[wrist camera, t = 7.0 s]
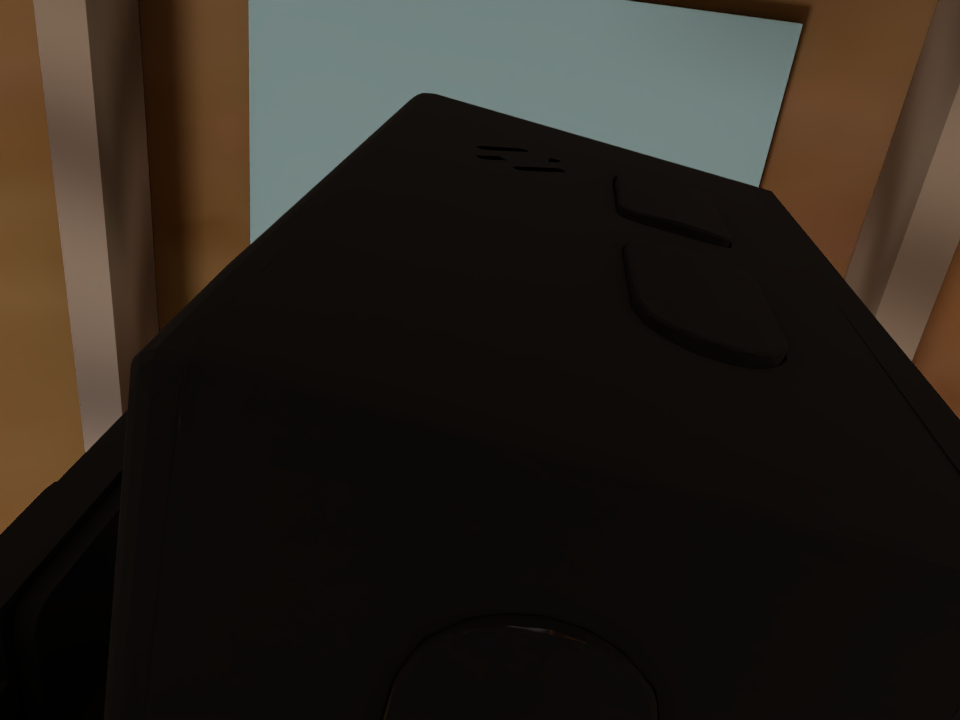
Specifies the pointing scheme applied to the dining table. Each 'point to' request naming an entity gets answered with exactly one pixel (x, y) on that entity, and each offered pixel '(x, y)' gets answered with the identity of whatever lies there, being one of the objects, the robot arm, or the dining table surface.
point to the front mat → (510, 79)
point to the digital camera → (532, 457)
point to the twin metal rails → (128, 219)
